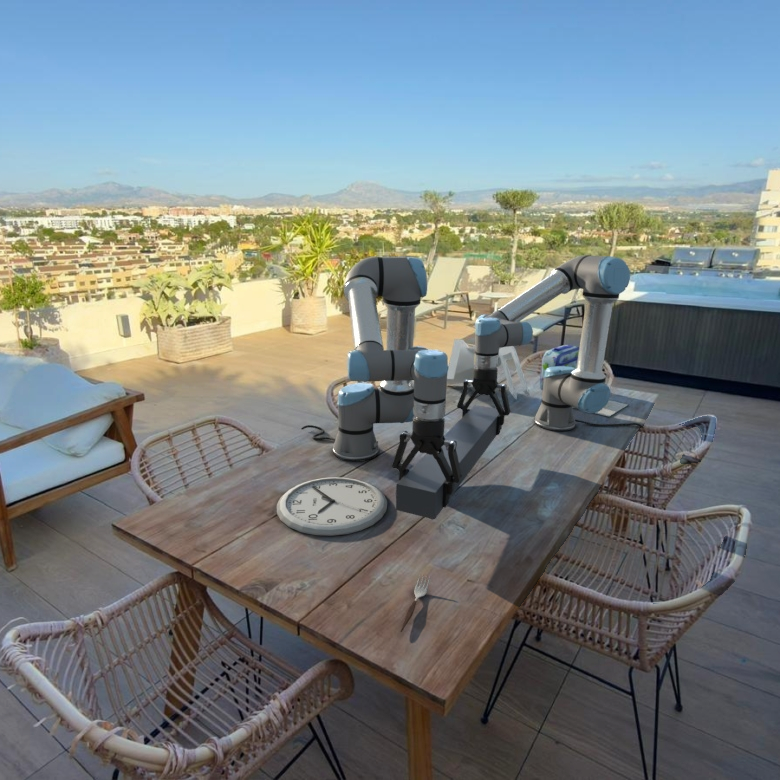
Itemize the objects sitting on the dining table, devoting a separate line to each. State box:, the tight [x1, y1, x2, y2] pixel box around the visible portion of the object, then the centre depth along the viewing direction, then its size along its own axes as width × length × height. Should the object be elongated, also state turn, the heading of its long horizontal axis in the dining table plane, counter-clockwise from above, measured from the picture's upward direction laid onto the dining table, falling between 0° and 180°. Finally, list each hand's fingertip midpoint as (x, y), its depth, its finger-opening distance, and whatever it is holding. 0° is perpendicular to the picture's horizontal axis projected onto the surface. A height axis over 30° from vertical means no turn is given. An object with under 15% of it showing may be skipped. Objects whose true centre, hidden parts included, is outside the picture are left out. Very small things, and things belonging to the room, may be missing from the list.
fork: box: [400, 573, 431, 633], centre depth 105 cm, size 3×16×2 cm, turn 160°
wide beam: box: [395, 404, 503, 520], centre depth 151 cm, size 65×10×7 cm, turn 155°
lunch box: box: [539, 344, 580, 391], centre depth 246 cm, size 26×11×21 cm, turn 135°
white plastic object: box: [447, 310, 531, 400], centre depth 245 cm, size 37×45×31 cm
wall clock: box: [276, 476, 388, 537], centre depth 142 cm, size 30×2×30 cm
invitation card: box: [595, 399, 629, 418], centre depth 226 cm, size 21×1×15 cm
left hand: (425, 499), depth 130 cm, fingers closed on wide beam, 10 cm apart
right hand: (482, 430), depth 174 cm, fingers closed on wide beam, 10 cm apart
